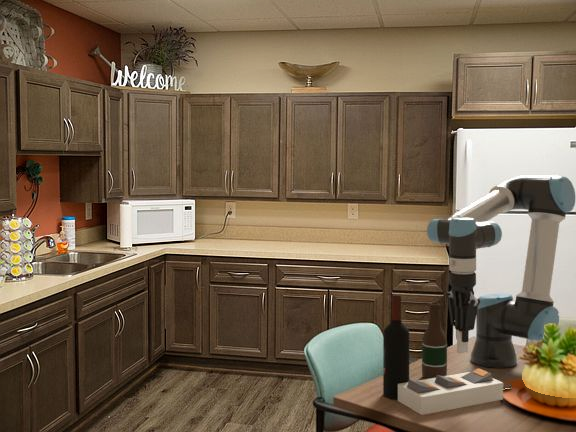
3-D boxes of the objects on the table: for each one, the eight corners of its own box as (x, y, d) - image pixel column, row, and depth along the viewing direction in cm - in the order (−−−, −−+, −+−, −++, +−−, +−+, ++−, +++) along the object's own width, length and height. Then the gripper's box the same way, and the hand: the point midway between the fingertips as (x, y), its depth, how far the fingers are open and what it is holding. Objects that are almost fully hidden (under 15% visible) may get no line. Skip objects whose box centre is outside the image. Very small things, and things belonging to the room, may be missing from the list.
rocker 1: (424, 390, 195) (426, 382, 195) (437, 396, 189) (439, 388, 189) (407, 386, 192) (409, 378, 192) (419, 393, 187) (421, 384, 187)
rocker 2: (451, 385, 198) (453, 377, 199) (464, 391, 193) (466, 383, 193) (434, 382, 196) (436, 374, 196) (447, 388, 190) (449, 380, 191)
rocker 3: (479, 374, 202) (477, 367, 202) (492, 380, 197) (491, 373, 196) (463, 383, 200) (461, 376, 200) (476, 389, 195) (474, 382, 194)
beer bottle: (447, 381, 211) (447, 306, 209) (421, 380, 212) (422, 305, 210) (446, 373, 218) (447, 301, 216) (421, 372, 220) (422, 300, 218)
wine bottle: (392, 401, 194) (392, 299, 192) (378, 393, 201) (378, 294, 199) (414, 397, 197) (414, 296, 195) (399, 389, 204) (400, 291, 202)
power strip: (496, 383, 209) (496, 367, 209) (524, 395, 198) (524, 378, 198) (397, 400, 195) (397, 383, 194) (421, 415, 184) (421, 397, 183)
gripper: (438, 269, 198) (438, 348, 200) (466, 276, 186) (466, 360, 188) (458, 267, 201) (458, 344, 203) (488, 274, 189) (487, 356, 191)
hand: (462, 351), depth 195 cm, fingers closed
